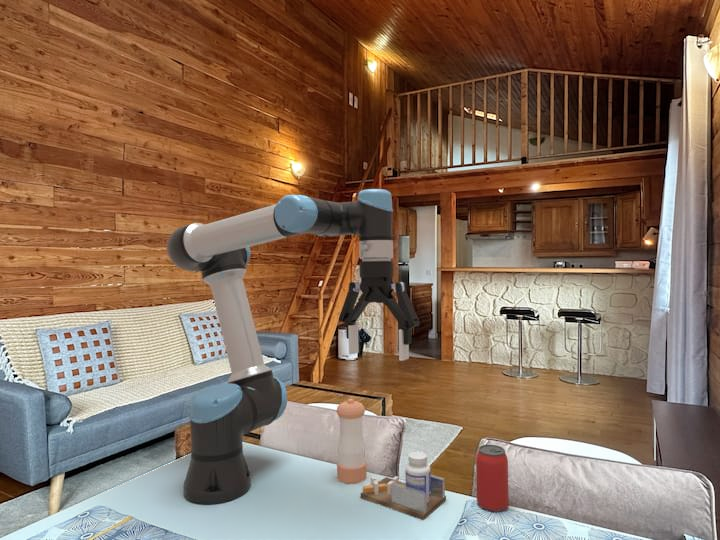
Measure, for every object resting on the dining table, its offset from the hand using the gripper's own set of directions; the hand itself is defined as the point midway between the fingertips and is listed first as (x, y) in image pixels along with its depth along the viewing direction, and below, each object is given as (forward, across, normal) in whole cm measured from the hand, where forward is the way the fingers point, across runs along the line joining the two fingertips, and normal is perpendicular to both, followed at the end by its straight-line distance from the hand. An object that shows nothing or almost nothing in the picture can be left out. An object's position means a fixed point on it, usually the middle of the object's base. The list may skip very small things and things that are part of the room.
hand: (377, 356), depth 105 cm
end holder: (+32, +8, +3) cm, 33 cm away
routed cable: (+31, -1, +2) cm, 31 cm away
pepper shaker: (+32, -12, +5) cm, 35 cm away
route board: (+32, +4, +3) cm, 32 cm away
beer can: (+32, +21, +12) cm, 40 cm away
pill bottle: (+31, +8, +3) cm, 32 cm away
